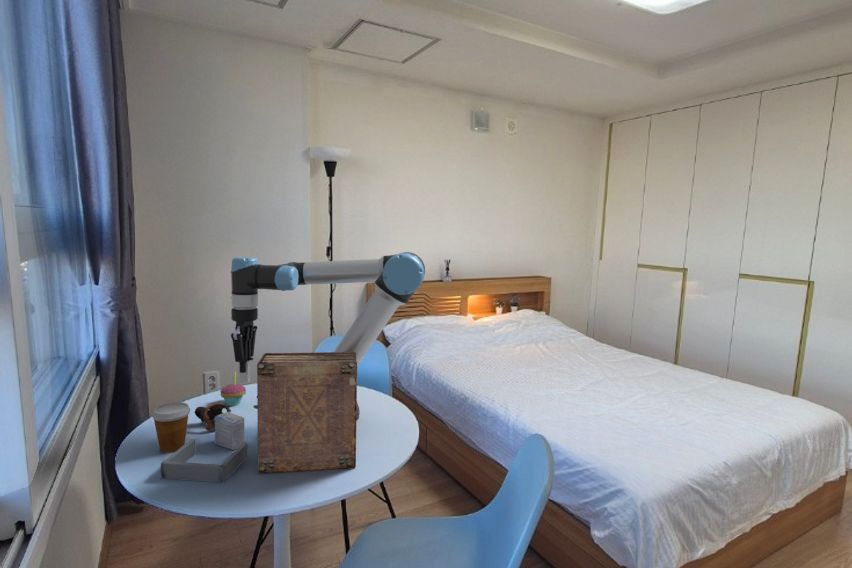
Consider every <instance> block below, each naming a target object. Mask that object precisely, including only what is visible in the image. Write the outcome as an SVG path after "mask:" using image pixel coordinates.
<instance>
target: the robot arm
mask: <svg viewBox="0 0 852 568" xmlns="http://www.w3.org/2000/svg"><path fill="white" fill-rule="evenodd" d="M425 267H426V266H425V264H424V261H423V260H422V258H421V257H420V256H419V255H417V254H416V253H413V252H411V251H410V252H409V251H408V252H407V251H405V252H399V253H398V254H390V255H382V256H381V257H380V258H373V259H372V258H371V259H351V260H350V259H349V260H348V259H345V260H328V261H325V260H324V261H306V262H303V261H302V262H296V261H290V262H288V263H283V264H277V265H273V264H260V263H259V260H258V258H257V257H251V256H239V257H233V258H232V260H231V271H230V273H231V275H230V277H231V283H230V284H231V292H230V293H231V296H230V299H231V307H232V308H231V311H230V313H231V318H230V319H231V321H233V322H235V328H234V330H235V332H233V333H231V334H230V337H231V340H232V347H233V352H234V353H233V354H234V361H235V362H236V363H238V367H239V368H238V369H239V370H238V371H239V372H238V375H239V377H238V379H239V380H238V381H239V383H249V382H250V381H251V361H254V355H255V344H256V336H257V331H258V325H254V321H257V320H258V310H259V308H258V306H259V293H258V292H259V291H258V290H272V291H281V292H282V291H283V292H286V291H294V290H296V288H297V287H298V286H305V285H306V286H307V285H328V284H329V285H331V284H352V283H353V284H355V283H357V284H358V283H374V286H375V287H374V288H375V290H374V291H373V293H372V294H371V296H370V297H369V299H368V300H367V302H366V304H365V305H364V306H363V307H362V310H361V311H360V312H359V314H358V315H357V317H356V318H355V320H354V321H353V322H352V324H351V325H350V327H349V328H348V330H347V331H346V333H345V334H344V335H343V338H342V339H341V340H340V342H339V343H338V344H337V346H336V348H335V349H334V350H328V351H327V350H326V351H325V352H356V361H357V367H358V366H359V364H361V362H362V360H363V359H364V357H365V356H366V354H367V353H368V352H369V350H370V349H371V348H372V346H373V345H374V343H375V341H376V340H377V339H378V337H379V335H380V334H381V332H382V331H383V330H384V328H386V327H385V326H387V324H388V322H389V321H390V319H391V318H392V316H394V314H395V312H396V311H397V310H398V308H399V306H403V305H407V303H408V302H409V301H410V300H411V298H412V297H413V295H414V294H415V292H416V291H417V290H418V289H419V288H420V287H421V285H422V283H423V281H424V278H425V273H426V268H425ZM360 412H361V411H360V407H359V403H358V402H357V413H356V421H358V420H357V419H359V418H360V416H361V414H360ZM359 415H360V416H359Z"/></svg>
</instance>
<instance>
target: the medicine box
mask: <svg viewBox="0 0 852 568" xmlns="http://www.w3.org/2000/svg"><path fill="white" fill-rule="evenodd" d="M245 428H246V427H245V417H243V416H241V415H238V414H234V413H233V412H230V413H229V412H227V411H226V412H223V414H220V415H218V416H215V429H214V442H215V443H214V444H215V445H218V446H220V447H222V448H226V449H228V450H231V451H235V450H236V449H237V448H238V447H239V446H240V445H241V444H242V443H246V440H245V439H246V438H245V437H246V433H245V430H246V429H245Z"/></svg>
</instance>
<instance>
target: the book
mask: <svg viewBox="0 0 852 568" xmlns="http://www.w3.org/2000/svg"><path fill="white" fill-rule="evenodd" d="M256 377H257V378H256V380H257V381H256V386H257V387H256V389H257V391H256V392H257V393H256V394H257V395H256V396H257V399H256V400H257V401H256V402H257V404H256V405H257V473H258V475H259V474H260V475H261V474H262V475H263V474H278V473H279V474H280V473H293V472H294V473H296V472H312V471H313V472H314V471H316V472H317V471H329V470H330V471H334V470H349V469H348V468H353V469H356V467H357V420H356V413H357V403H358V400H357V399H358V397H357V394H358V393H357V392H358V388H357V386H358V366H357V361H356V352H326V351H322V352H321V351H319V352H265V353H264V354H262V356H261V357H260V359H259V361H258V362H257V364H256Z"/></svg>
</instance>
